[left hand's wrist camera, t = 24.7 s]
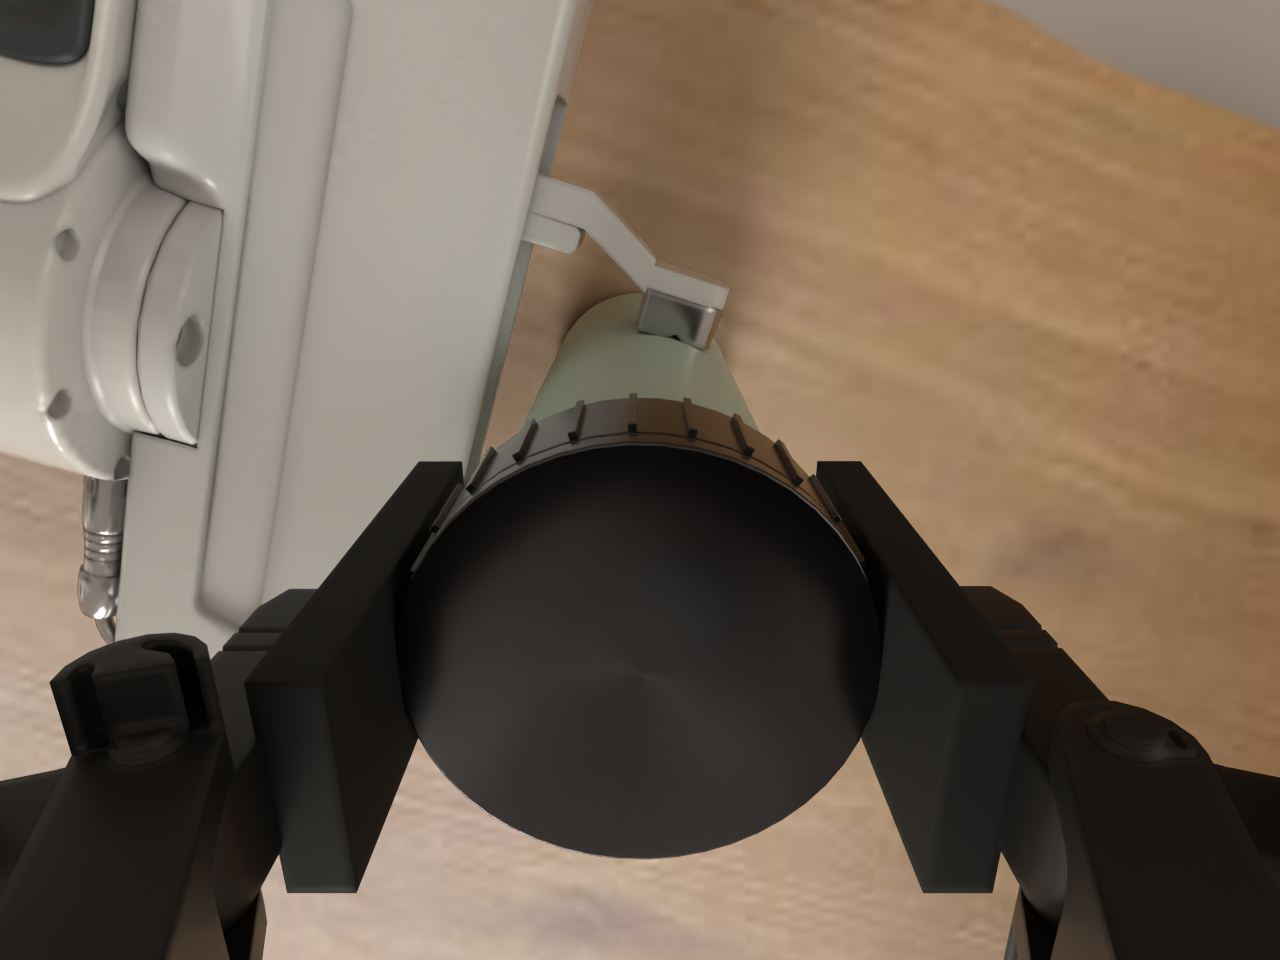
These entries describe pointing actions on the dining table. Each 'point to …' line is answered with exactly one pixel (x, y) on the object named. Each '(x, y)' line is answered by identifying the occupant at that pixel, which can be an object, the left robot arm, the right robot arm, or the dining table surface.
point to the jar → (634, 366)
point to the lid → (639, 632)
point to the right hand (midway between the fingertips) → (674, 445)
